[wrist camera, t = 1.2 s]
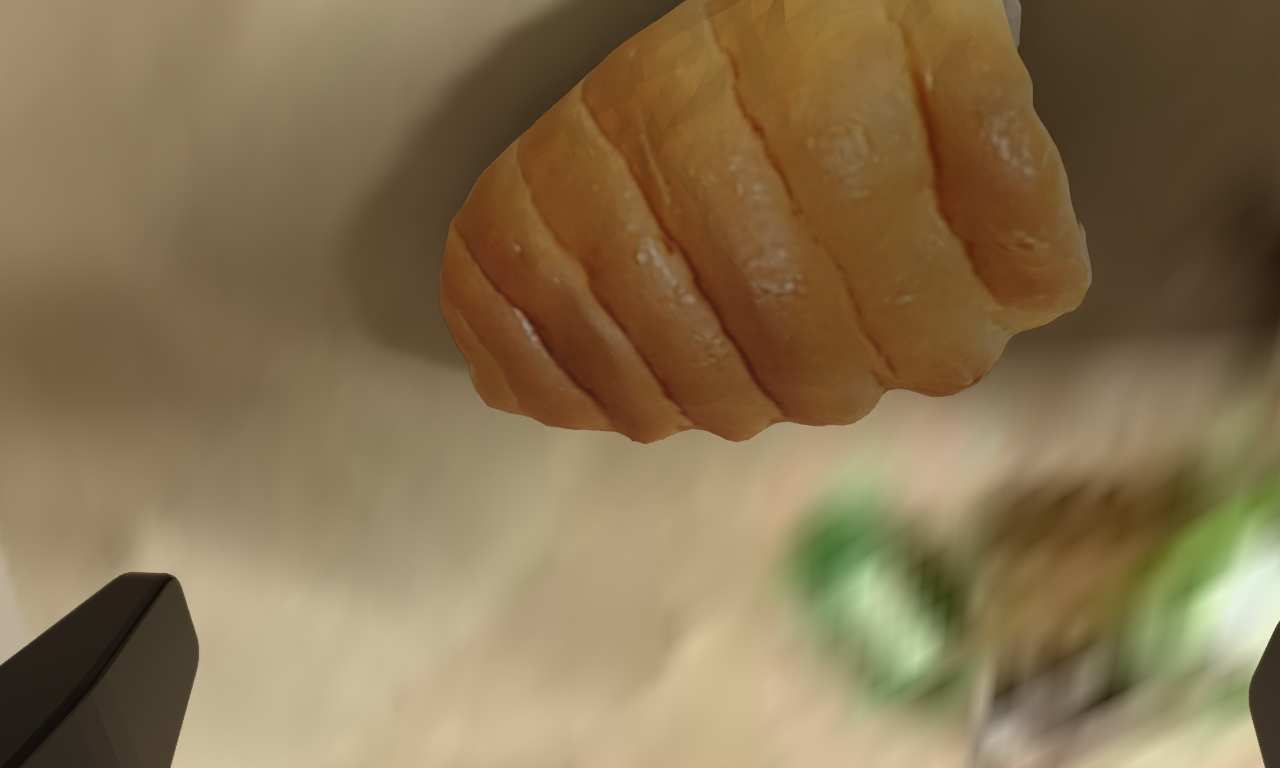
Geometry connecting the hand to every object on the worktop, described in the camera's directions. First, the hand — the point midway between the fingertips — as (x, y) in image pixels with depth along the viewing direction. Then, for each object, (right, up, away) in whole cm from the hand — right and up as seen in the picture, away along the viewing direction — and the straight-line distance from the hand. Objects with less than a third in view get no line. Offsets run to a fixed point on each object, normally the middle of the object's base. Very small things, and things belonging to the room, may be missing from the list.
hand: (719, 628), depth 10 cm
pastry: (-2, +7, +9) cm, 11 cm away
